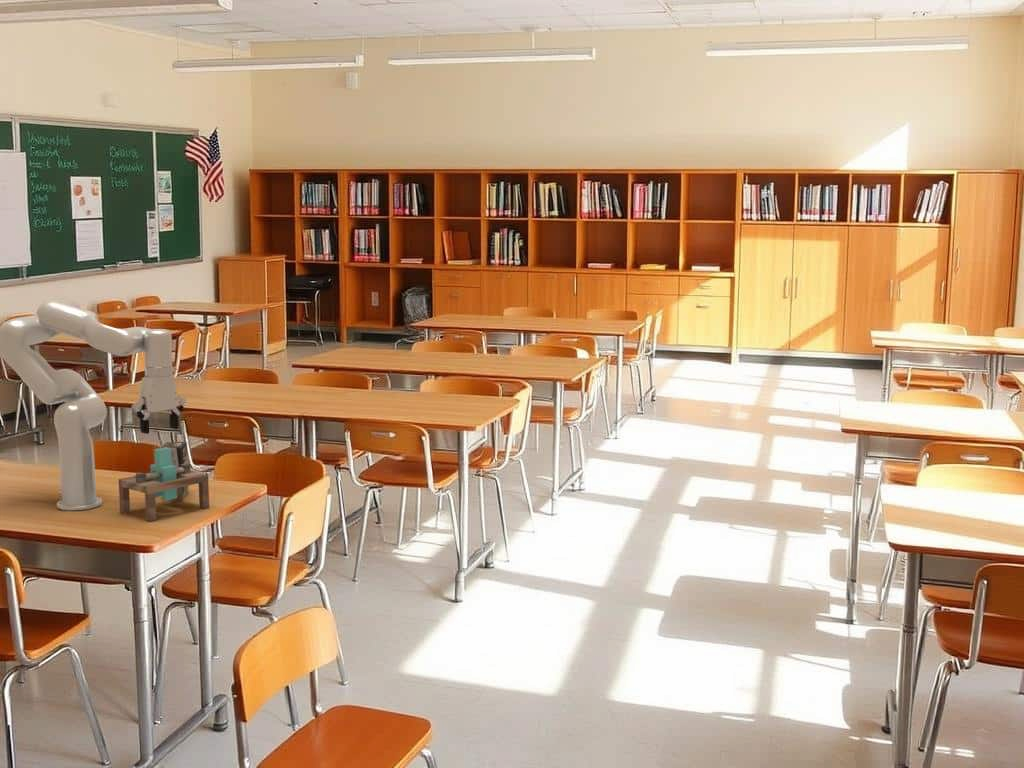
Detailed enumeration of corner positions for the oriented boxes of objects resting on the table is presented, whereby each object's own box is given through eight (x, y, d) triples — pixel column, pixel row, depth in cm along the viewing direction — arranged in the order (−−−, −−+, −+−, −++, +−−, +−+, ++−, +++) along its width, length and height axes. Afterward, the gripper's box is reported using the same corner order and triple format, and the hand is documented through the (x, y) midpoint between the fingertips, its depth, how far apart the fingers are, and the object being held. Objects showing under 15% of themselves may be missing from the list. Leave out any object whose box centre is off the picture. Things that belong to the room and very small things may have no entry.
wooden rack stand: (120, 512, 329) (118, 471, 327) (178, 499, 345) (177, 459, 343) (150, 521, 320) (148, 479, 318) (209, 507, 335) (207, 466, 334)
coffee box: (183, 499, 345) (181, 447, 342) (161, 499, 344) (159, 447, 342) (189, 492, 354) (187, 441, 351) (168, 492, 353) (166, 441, 351)
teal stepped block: (151, 497, 332) (149, 448, 330) (163, 494, 335) (161, 446, 333) (165, 500, 328) (163, 451, 326) (177, 498, 331) (175, 449, 329)
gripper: (176, 368, 335) (177, 424, 338) (124, 373, 322) (125, 432, 324) (191, 370, 331) (192, 428, 333) (139, 376, 317) (140, 436, 320)
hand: (159, 430), depth 329 cm, fingers open, 9 cm apart
